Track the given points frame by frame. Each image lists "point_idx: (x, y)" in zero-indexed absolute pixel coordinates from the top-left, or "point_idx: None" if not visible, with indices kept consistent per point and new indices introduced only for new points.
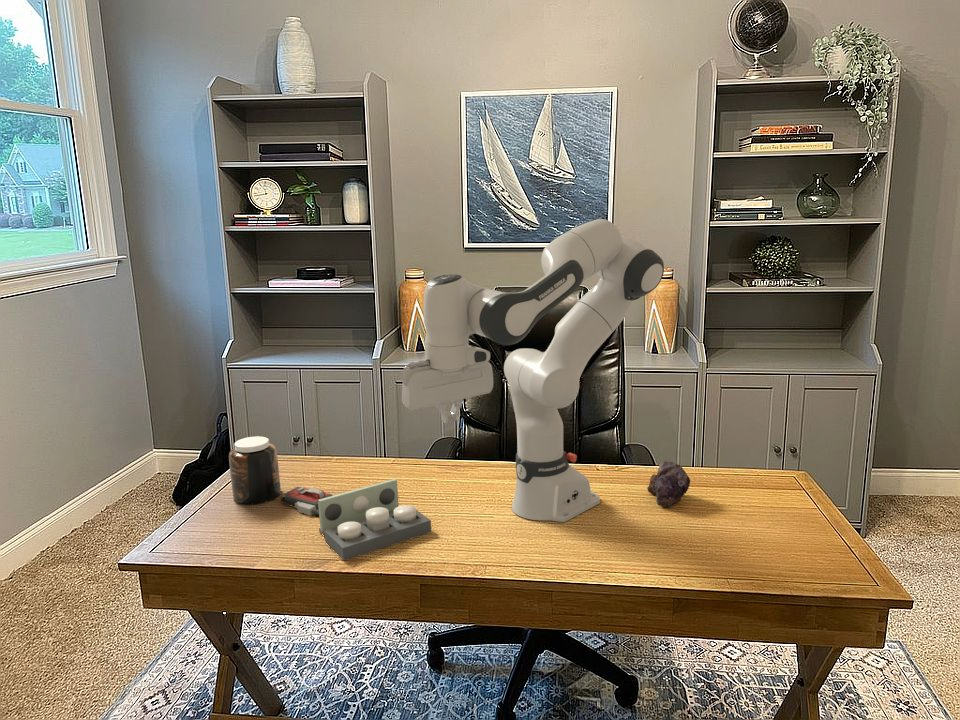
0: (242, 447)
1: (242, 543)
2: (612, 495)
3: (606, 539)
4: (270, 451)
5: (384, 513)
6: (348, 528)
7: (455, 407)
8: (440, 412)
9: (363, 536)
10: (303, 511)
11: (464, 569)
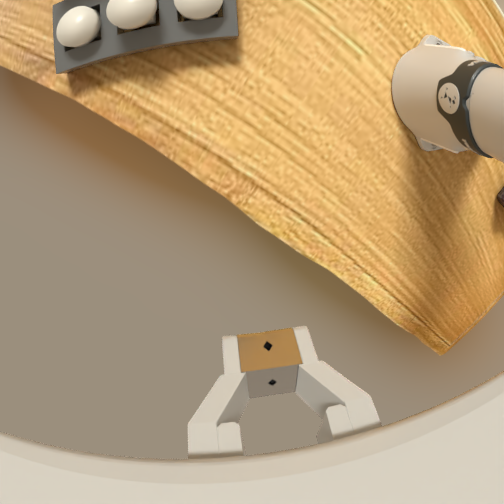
0: None
1: None
2: None
3: (419, 216)
4: None
5: (139, 16)
6: (71, 31)
7: (318, 406)
8: (216, 387)
9: (97, 43)
10: None
11: (222, 180)
